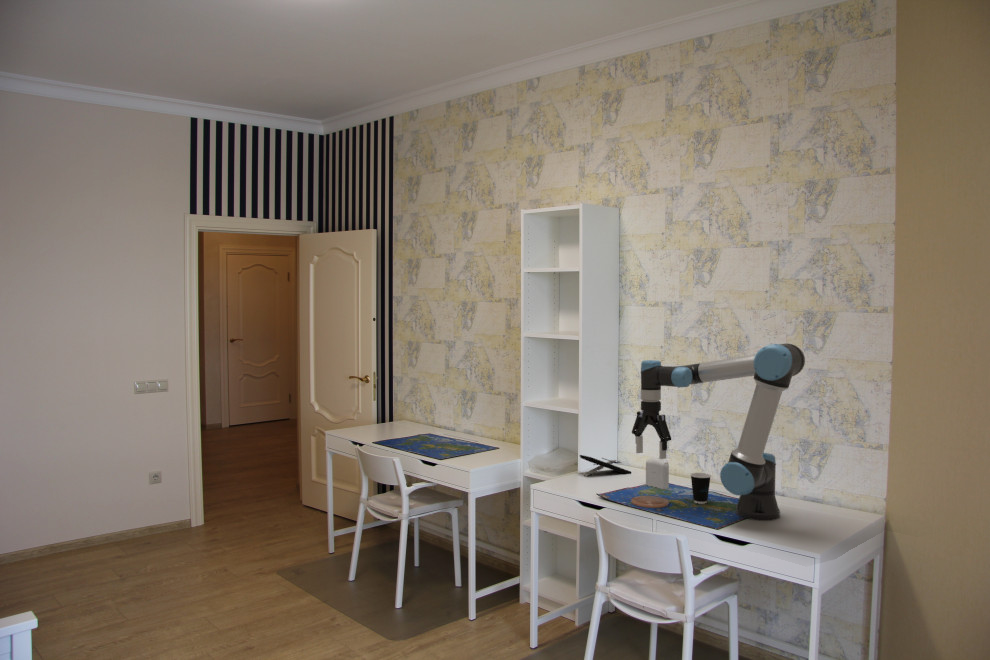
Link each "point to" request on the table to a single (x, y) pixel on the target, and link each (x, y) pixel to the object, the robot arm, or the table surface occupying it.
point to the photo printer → (657, 473)
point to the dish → (650, 501)
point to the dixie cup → (700, 487)
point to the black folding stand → (603, 465)
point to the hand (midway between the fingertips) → (650, 455)
